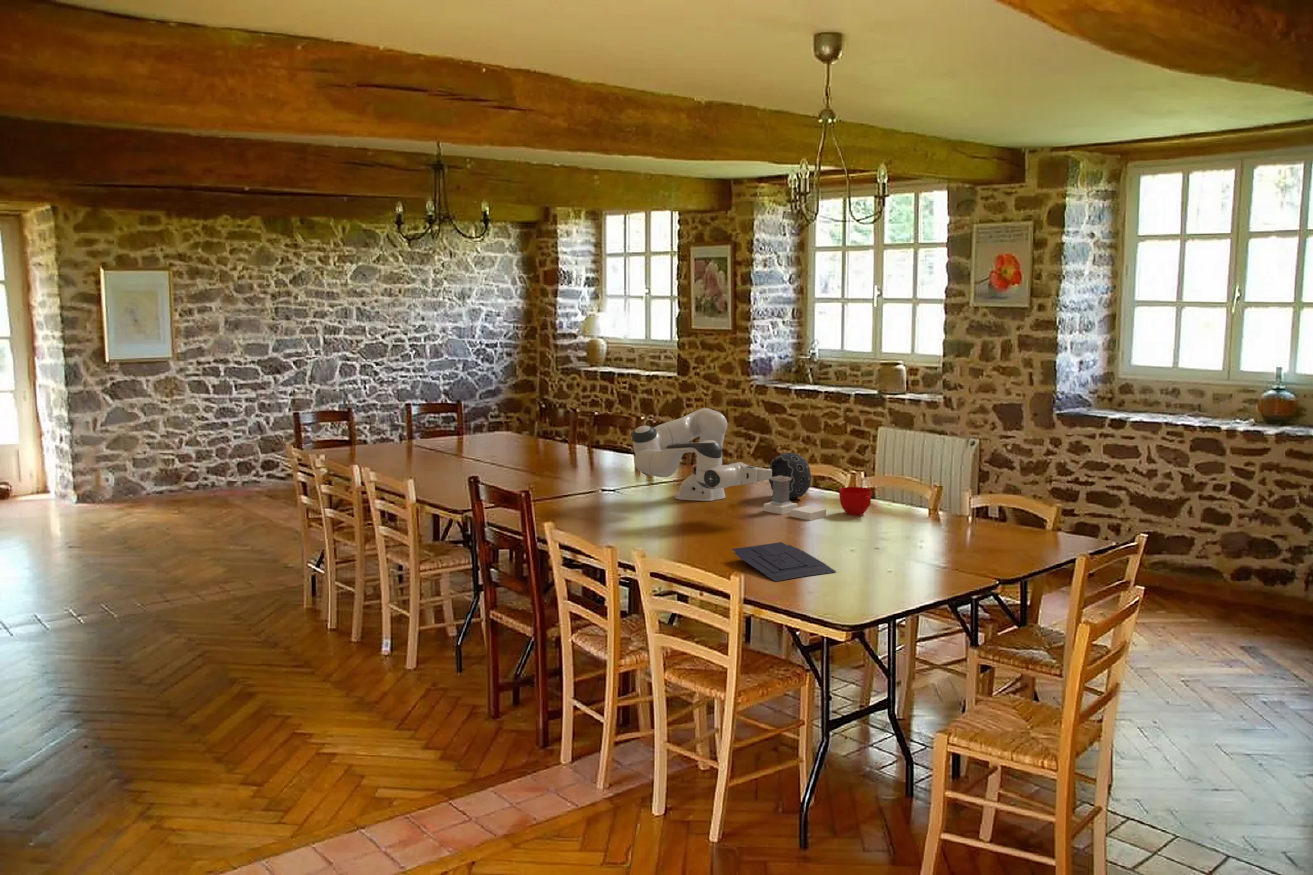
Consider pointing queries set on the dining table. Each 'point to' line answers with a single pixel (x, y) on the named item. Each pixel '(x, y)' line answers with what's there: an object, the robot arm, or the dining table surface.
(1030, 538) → the dining table surface
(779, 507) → the stand
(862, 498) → the ceramic cup
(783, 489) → the housing
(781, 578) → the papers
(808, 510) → the stand
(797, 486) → the dark grey rounded piece
